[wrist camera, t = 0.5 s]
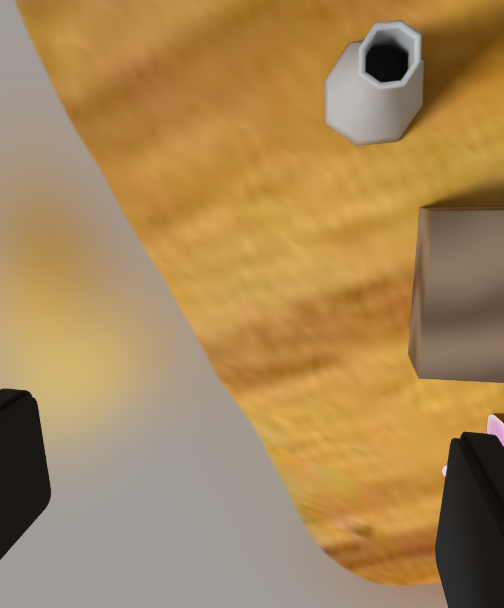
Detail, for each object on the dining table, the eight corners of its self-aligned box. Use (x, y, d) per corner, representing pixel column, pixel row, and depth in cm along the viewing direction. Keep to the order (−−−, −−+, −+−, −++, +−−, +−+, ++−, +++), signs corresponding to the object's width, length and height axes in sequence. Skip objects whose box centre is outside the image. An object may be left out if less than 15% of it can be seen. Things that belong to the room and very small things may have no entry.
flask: (339, 27, 30) (342, -44, 21) (441, 50, 29) (492, -12, 20) (310, 133, 32) (300, 113, 23) (403, 158, 32) (434, 147, 22)
